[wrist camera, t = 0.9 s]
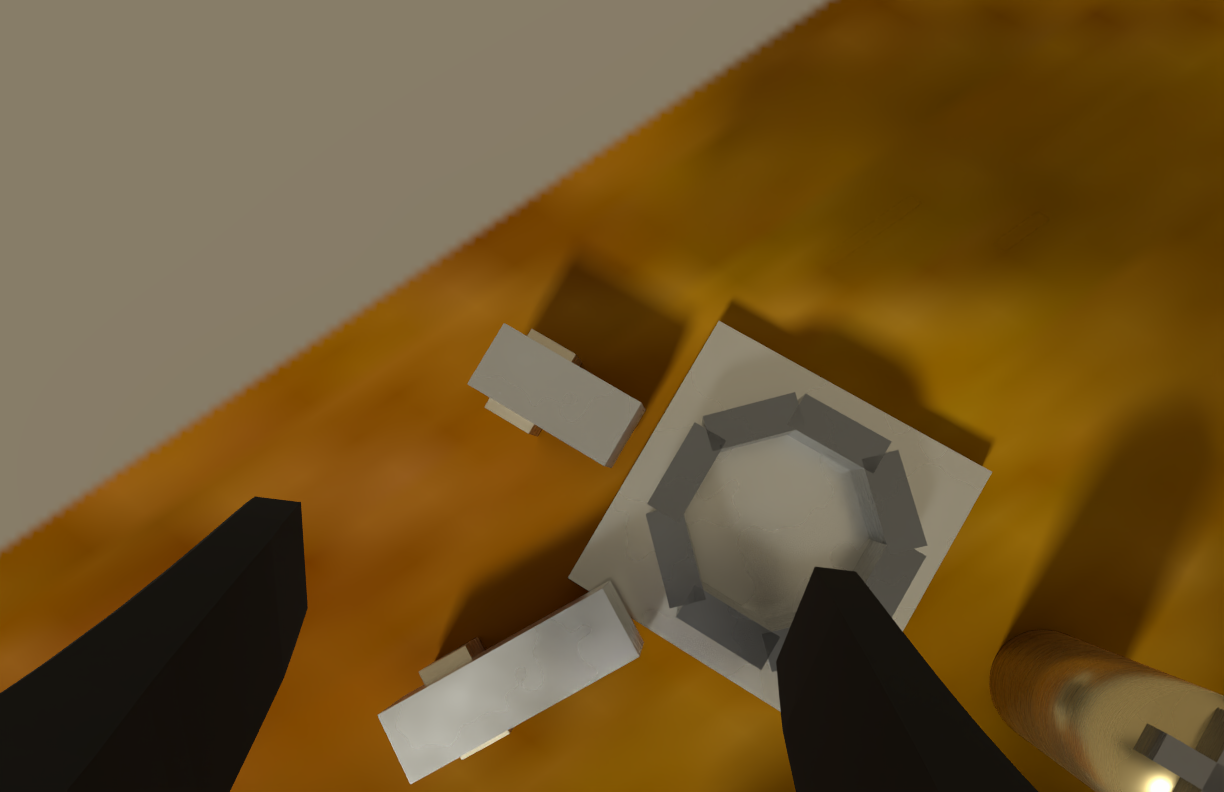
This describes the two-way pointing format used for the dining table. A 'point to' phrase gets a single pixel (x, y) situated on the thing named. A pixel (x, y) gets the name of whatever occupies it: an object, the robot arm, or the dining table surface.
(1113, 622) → the dining table surface
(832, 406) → the coupling socket
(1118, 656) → the coupler
